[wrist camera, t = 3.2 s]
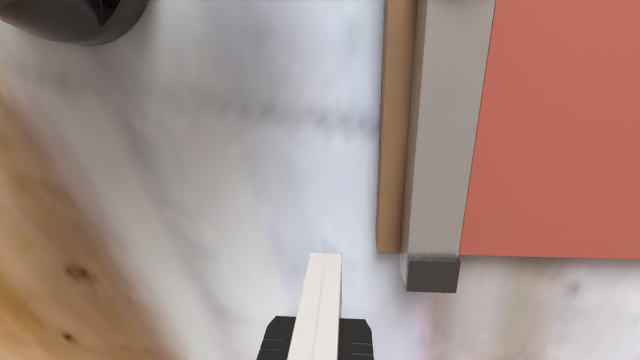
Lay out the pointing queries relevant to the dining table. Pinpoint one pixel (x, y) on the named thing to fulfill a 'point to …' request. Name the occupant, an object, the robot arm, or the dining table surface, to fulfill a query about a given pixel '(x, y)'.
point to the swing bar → (442, 137)
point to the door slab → (558, 133)
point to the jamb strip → (394, 120)
